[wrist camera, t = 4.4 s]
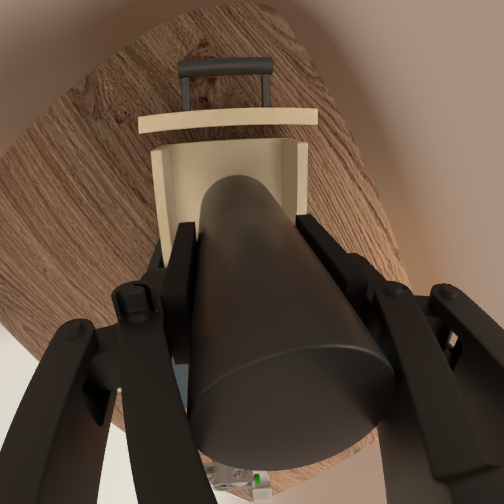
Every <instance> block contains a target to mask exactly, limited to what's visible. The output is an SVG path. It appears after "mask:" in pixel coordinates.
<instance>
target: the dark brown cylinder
mask: <svg viewBox="0 0 504 504" xmlns="http://www.w3.org/2000/svg"><path fill="white" fill-rule="evenodd" d="M395 390H396V377H395V373H394V370H393V368H392V366H391V365H390V363H389V361H388V360H387V358H386V357H385V355H384V354H383V352H382V351H381V349H380V347H379V346H378V344H377V343H376V341H375V340H374V338H373V337H372V335H371V334H370V332H369V331H368V329H367V328H366V326H365V325H364V323H363V322H362V320H361V319H360V317H359V316H358V314H357V313H356V311H355V310H354V308H353V307H352V306H351V304H350V303H349V301H348V300H347V298H346V297H345V295H344V294H343V292H342V291H341V290H340V288H339V287H338V285H337V284H336V282H335V281H334V280H333V278H332V277H331V275H330V274H329V272H328V271H327V270H326V268H325V267H324V265H323V264H322V263H321V261H320V260H319V258H318V257H317V256H316V254H315V253H314V251H313V250H312V249H311V247H310V246H309V244H308V243H307V242H306V240H305V239H304V238H303V236H302V235H301V233H300V232H299V231H298V229H297V228H296V227H295V225H294V224H293V223H292V221H291V220H290V218H289V217H288V216H287V214H286V213H285V212H284V210H283V209H282V208H281V206H280V205H279V204H278V202H277V201H276V200H275V198H274V197H273V196H272V195H271V193H270V192H269V191H268V189H267V188H266V187H265V186H264V185H263V184H262V183H261V182H260V181H258V180H256V179H254V178H252V177H249V176H245V175H231V176H227V177H224V178H222V179H220V180H218V181H217V182H215V183H214V184H213V185H212V186H211V187H210V188H209V189H208V190H207V191H206V193H205V195H204V197H203V199H202V203H201V209H200V218H199V228H198V238H197V248H196V259H195V271H194V283H193V296H192V311H191V326H190V344H189V364H188V390H187V418H188V421H189V424H190V428H191V431H192V434H193V437H194V440H195V443H196V446H197V449H198V450H199V451H201V452H202V453H203V454H204V455H206V456H207V457H209V458H210V459H212V460H214V461H216V462H218V463H221V464H223V465H226V466H229V467H233V468H237V469H243V470H251V471H279V470H287V469H293V468H298V467H303V466H307V465H310V464H314V463H317V462H319V461H322V460H325V459H327V458H330V457H332V456H334V455H336V454H338V453H340V452H342V451H344V450H346V449H348V448H349V447H351V446H353V445H354V444H356V443H357V442H359V441H360V440H361V439H363V438H364V437H365V436H366V435H368V434H369V433H370V432H371V431H372V430H373V429H374V428H375V427H376V426H377V425H378V424H379V423H380V422H381V420H382V419H383V418H384V416H385V414H386V412H387V409H388V407H389V405H390V403H391V400H392V398H393V395H394V392H395Z"/></svg>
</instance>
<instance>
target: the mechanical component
mask: <svg viewBox="0 0 504 504" xmlns="http://www.w3.org/2000/svg"><path fill="white" fill-rule="evenodd" d="M203 466H204V469H205V472H206V474H207V477H208V480H209V482H210V484H213V489H214V490H216V491H228V490H240V489H250V488H255V483H256V484H259V483H260V477H259V474H254V475H253V471H251V470H243V469H237V468H233V467H229V466H226V465H223V464H221V463H218V462H216V461H214V460H213V463H203ZM236 475H242V476H243V477H242V478H240V479H237V478H235V476H236Z"/></svg>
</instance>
